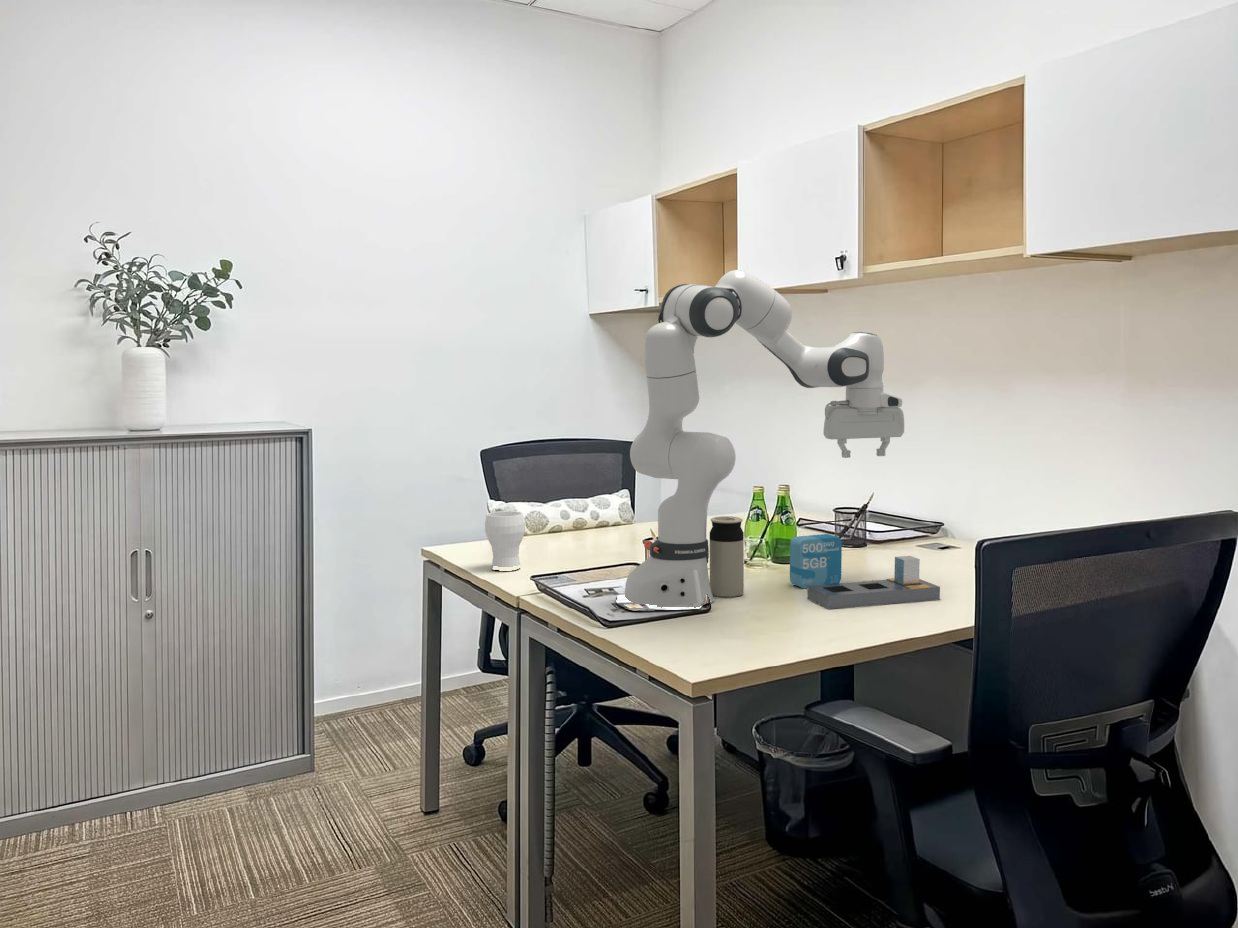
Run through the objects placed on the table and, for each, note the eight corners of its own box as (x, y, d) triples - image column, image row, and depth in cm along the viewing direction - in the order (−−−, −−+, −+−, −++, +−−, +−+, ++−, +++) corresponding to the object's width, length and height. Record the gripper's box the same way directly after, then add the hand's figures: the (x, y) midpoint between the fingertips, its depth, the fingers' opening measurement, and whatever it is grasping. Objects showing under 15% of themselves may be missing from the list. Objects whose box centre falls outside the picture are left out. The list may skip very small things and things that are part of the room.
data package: (798, 589, 228) (799, 539, 227) (789, 585, 232) (789, 536, 231) (841, 584, 232) (842, 536, 231) (831, 580, 236) (831, 533, 235)
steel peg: (903, 598, 217) (903, 560, 216) (894, 594, 221) (894, 556, 220) (918, 597, 218) (919, 559, 217) (909, 593, 222) (910, 555, 221)
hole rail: (827, 609, 209) (828, 594, 208) (807, 598, 218) (807, 584, 218) (939, 599, 216) (940, 585, 216) (915, 589, 226) (915, 576, 225)
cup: (530, 571, 251) (529, 515, 250) (491, 574, 248) (490, 518, 246) (519, 563, 261) (518, 509, 260) (482, 566, 257) (480, 512, 256)
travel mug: (717, 599, 219) (716, 522, 217) (704, 591, 227) (704, 517, 225) (748, 596, 221) (749, 520, 219) (735, 588, 229) (735, 515, 227)
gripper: (831, 401, 224) (830, 459, 225) (908, 399, 229) (907, 456, 230) (819, 400, 230) (818, 457, 231) (894, 398, 235) (893, 454, 236)
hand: (863, 456), depth 231 cm, fingers open, 8 cm apart
